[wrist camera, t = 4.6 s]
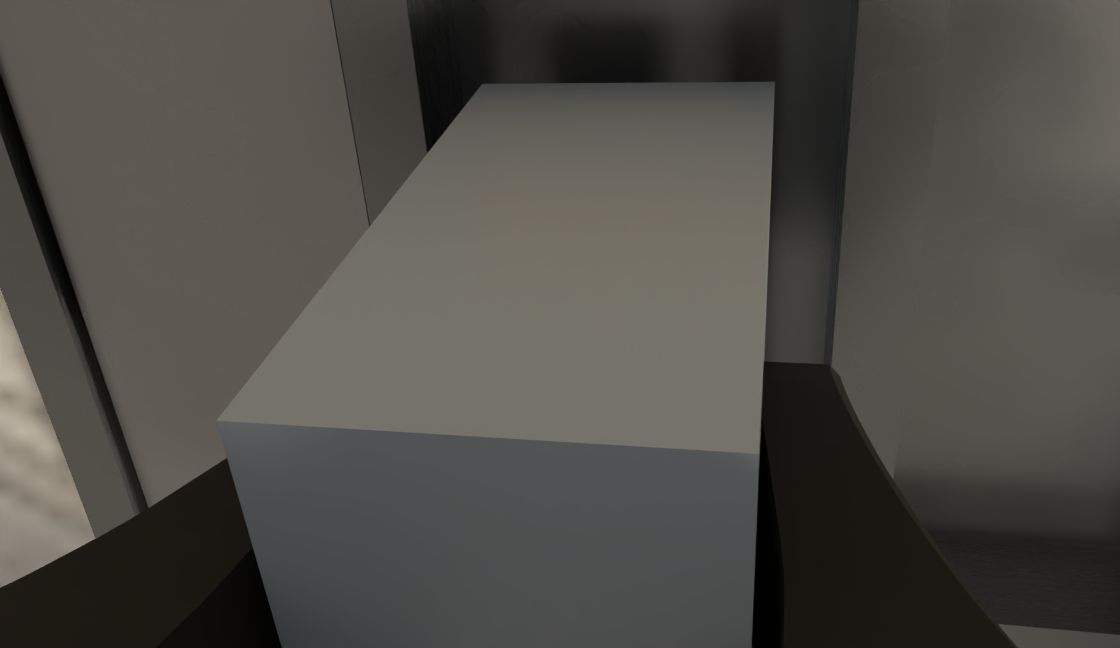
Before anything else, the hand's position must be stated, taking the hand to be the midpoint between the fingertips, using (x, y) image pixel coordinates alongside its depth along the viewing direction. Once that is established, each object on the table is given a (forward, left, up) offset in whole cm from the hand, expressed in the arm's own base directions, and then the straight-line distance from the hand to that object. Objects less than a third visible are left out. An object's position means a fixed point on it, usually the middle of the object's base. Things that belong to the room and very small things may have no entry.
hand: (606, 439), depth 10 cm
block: (0, 0, -2) cm, 2 cm away
